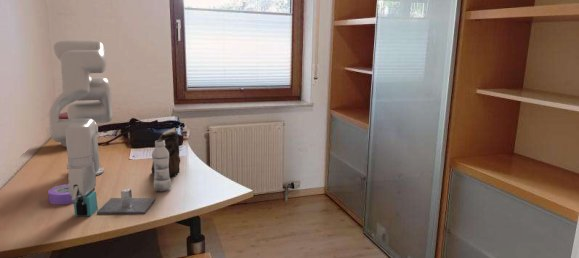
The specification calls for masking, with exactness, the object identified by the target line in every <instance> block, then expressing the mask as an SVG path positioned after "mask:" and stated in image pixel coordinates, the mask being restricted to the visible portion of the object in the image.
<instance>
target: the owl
mask: <svg viewBox="0 0 579 258" xmlns="http://www.w3.org/2000/svg"><path fill="white" fill-rule="evenodd" d="M179 137H180V136H179V134H178V132H177V128H176V127H173V128H171V129H167V130H166V131H164V132H163V133H162V134H161V135H160V136H159V138H158V140H164V141H165V148H166V149H167V150H168V152H169V167H168V168H169V176H170V179H174V178H175V177H177V175H178V174H180V173H181V172H180V168H181V167H180V164H181V157H180V145H179ZM151 174H152V175H154V176H155V170H154V163H153V162H152V165H151Z"/></svg>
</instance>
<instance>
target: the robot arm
mask: <svg viewBox="0 0 579 258" xmlns="http://www.w3.org/2000/svg"><path fill="white" fill-rule="evenodd" d="M53 52H54V54H55V56H56V58H57V59H58V60H59V61H60V68H61V69H60V70H61V80H62V81H61V82H62V84H61V86H62V91H61V93H60V94H59V95H58V96H57V97H56V98H55V99H54V101H53V102H52V104H51V106H50V110H49V115H48V116H49V132H50V137H51V139H52V140H53V141H54V142H56V143H61V142H66V146H67V147H66V152H67V161H68V163H67V164H66V169H67V170H68V175H67V176H68V177H67V178H68V180H67V181H68V182H67V184H69V195H70V196H72V201H74V202H75V205H76V210H77V215H87V204H85V195H86V194H88V193H89V192H95V190H96V189H95V188H96V186H97V179H96V178H97V177H96V176H100V175H102V174H103V173H104V172H105V169H104V167H103V166H100V165H101V164H100V154H99V153H100V151H99V144H98V134H99V127H98V126H99V125H98V124H102V123H103V124H104V123H105V124H106V123H109V122H111V121H112V120H113V118H114V109H113V99H112V98H113V97H112V88H111V84H110V81H109V80H108V78H106V77H102V76H101V77H98V76H95V77H94V76H93V77H92V76H91V75H90V74H103V73H104V72H105V71H106V69H107V55H106V47H105V46H104V44H103V43H102V42H101V41H99V40H59V41H56V42H55V43H54V44H53ZM67 106H68V107H67ZM65 107H67V108H66V112H67V115H68V118H69V119H68V120H59V114H60V113H61V111H62V110H63V109H64V108H65ZM79 193H81V195H78V194H79ZM78 197H82V200H81V199H79V198H78ZM74 202H73V203H74Z"/></svg>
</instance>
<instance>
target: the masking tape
mask: <svg viewBox="0 0 579 258" xmlns="http://www.w3.org/2000/svg"><path fill="white" fill-rule="evenodd" d="M47 193H48V202H49V203H50V204H52V203H53V205H67V204H72V203H73V204H74V201H72V196H70V195H69V183H64V184H61V185H57V186H54V187H51V188H50V189H48V191H47Z"/></svg>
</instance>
